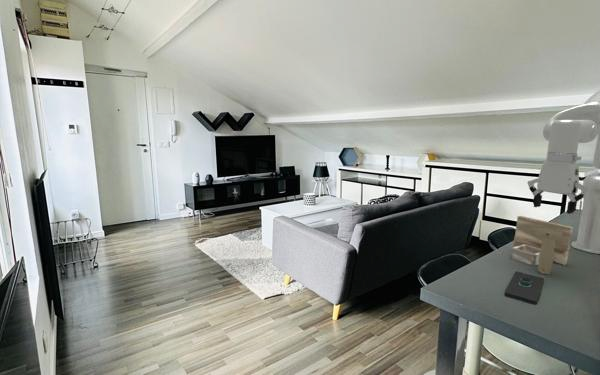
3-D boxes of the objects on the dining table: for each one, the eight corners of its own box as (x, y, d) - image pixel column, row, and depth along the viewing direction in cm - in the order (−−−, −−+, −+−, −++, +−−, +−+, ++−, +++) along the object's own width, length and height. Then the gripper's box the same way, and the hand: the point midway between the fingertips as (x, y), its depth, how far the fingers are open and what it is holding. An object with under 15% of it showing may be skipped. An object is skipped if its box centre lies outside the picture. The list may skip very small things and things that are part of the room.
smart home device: (545, 277, 108) (537, 301, 93) (544, 282, 108) (536, 306, 93) (515, 270, 113) (503, 291, 98) (514, 275, 113) (502, 296, 98)
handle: (552, 277, 110) (559, 234, 108) (530, 271, 115) (536, 229, 113) (557, 274, 113) (564, 232, 111) (535, 267, 118) (541, 227, 116)
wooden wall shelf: (516, 248, 138) (520, 215, 135) (567, 263, 122) (573, 227, 120) (497, 253, 131) (501, 219, 129) (548, 270, 116) (554, 232, 114)
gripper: (599, 160, 102) (590, 214, 105) (537, 156, 117) (530, 203, 120) (588, 161, 98) (579, 217, 101) (525, 156, 113) (519, 205, 116)
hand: (552, 209), depth 110 cm, fingers open, 9 cm apart
